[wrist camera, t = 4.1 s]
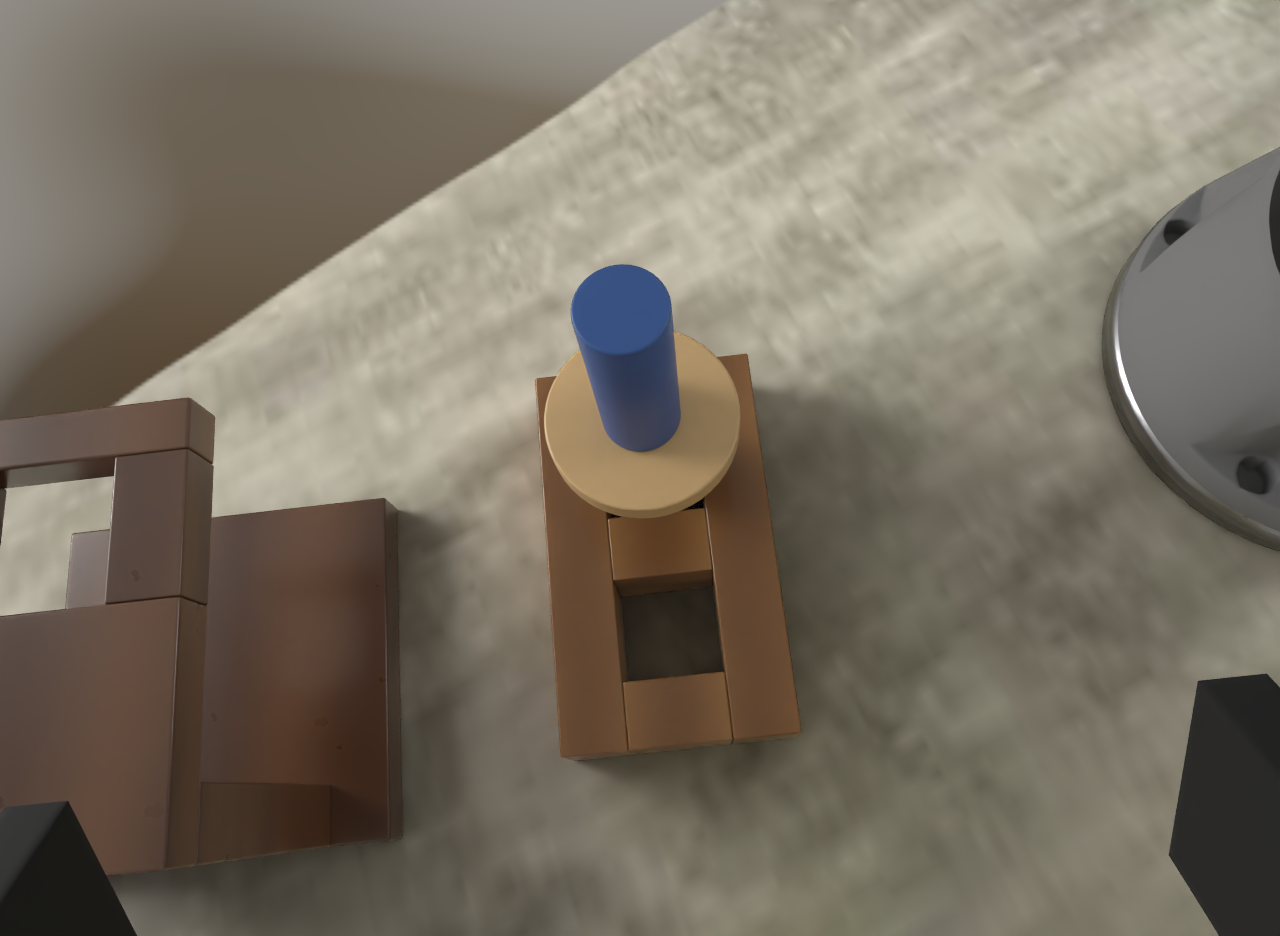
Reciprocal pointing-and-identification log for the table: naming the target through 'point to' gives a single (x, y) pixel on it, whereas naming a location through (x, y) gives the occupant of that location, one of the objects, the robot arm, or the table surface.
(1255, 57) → the table surface
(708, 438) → the peg
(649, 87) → the table surface
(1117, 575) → the table surface
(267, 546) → the stand
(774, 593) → the peg holder
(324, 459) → the table surface
